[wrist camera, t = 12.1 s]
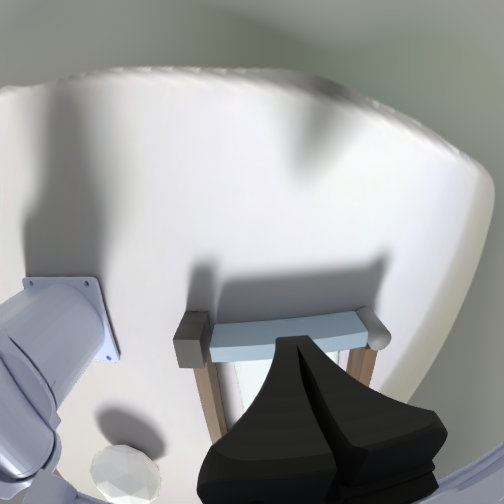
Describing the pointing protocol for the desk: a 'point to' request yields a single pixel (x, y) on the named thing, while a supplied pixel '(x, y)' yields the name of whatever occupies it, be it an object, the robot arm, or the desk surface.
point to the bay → (199, 358)
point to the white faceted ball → (125, 475)
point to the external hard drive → (257, 377)
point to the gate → (316, 327)
